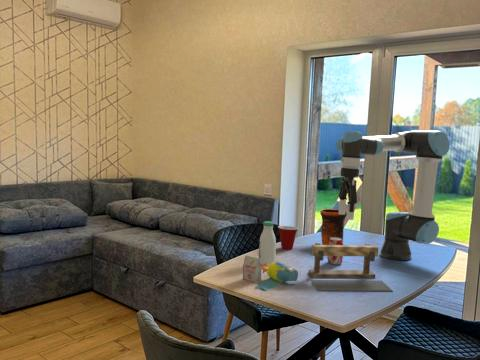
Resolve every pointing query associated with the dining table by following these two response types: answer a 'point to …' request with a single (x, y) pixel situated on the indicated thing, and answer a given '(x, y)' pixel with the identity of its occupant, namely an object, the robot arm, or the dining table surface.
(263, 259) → the milk bottle
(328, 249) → the batten
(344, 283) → the mat
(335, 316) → the dining table surface
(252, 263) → the white printed box
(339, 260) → the soda can
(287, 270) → the teal and yellow shape
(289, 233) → the plastic cup
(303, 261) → the dining table surface
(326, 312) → the dining table surface
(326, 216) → the vessel
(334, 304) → the dining table surface
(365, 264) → the hook rack
